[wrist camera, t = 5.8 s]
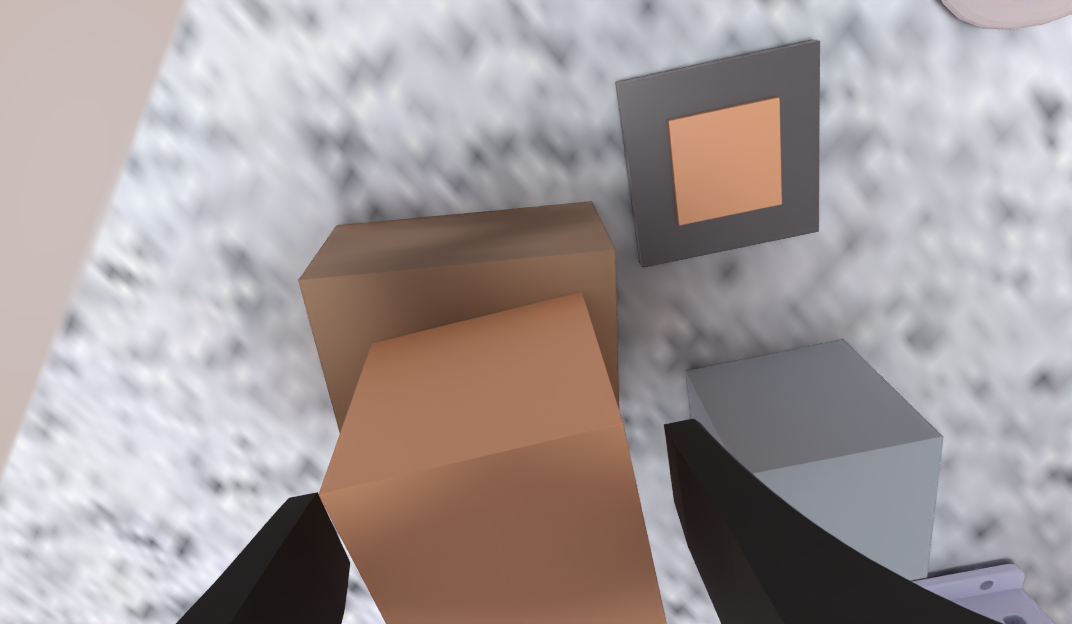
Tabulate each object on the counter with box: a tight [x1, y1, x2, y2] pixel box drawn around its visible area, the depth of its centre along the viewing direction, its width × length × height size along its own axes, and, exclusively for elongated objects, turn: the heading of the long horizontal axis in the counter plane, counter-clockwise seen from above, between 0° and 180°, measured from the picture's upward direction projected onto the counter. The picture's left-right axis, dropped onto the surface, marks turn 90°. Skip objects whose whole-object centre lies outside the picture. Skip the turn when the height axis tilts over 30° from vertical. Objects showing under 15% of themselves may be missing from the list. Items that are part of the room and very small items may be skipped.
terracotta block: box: [319, 292, 667, 624], centre depth 13 cm, size 5×5×5 cm
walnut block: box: [298, 201, 619, 432], centre depth 17 cm, size 7×7×4 cm
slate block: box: [686, 339, 943, 581], centre depth 19 cm, size 5×5×5 cm
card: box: [616, 40, 820, 268], centre depth 17 cm, size 5×5×1 cm
